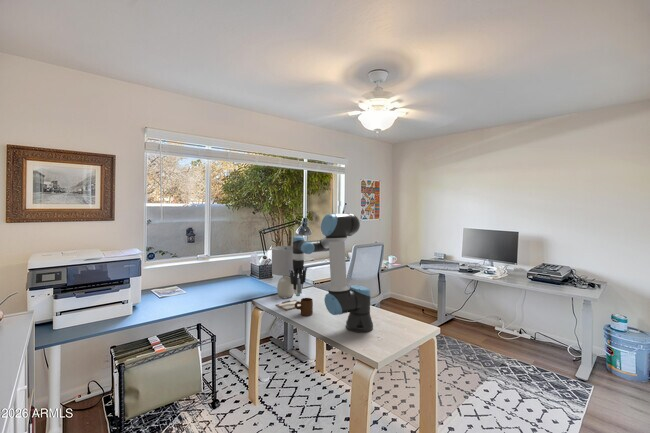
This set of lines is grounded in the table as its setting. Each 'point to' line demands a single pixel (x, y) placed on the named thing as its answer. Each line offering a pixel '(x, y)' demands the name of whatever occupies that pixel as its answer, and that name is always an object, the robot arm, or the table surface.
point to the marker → (298, 287)
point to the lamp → (283, 269)
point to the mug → (305, 306)
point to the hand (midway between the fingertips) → (298, 293)
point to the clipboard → (288, 305)
